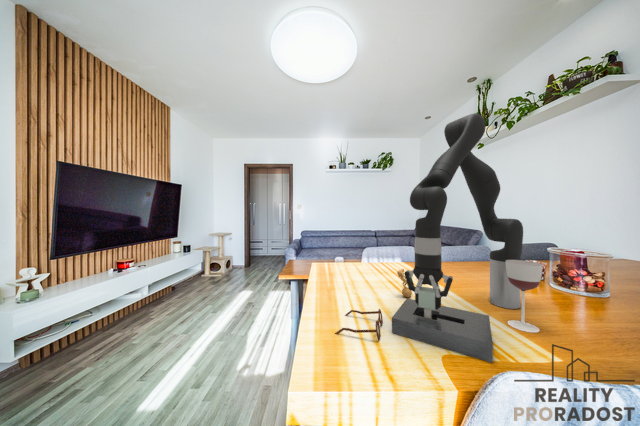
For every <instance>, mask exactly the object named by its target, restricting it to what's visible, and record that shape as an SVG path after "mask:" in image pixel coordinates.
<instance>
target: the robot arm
mask: <svg viewBox="0 0 640 426" xmlns="http://www.w3.org/2000/svg"><path fill="white" fill-rule="evenodd" d="M485 132H486V122H485V119H484V117H483V116H482V115H481V114H479V113H470V114H468V115H465V116H462V117H459V118H458V119H455V120H453V121H451V122H449V123H446V125H445V127H444V131H443V133H444V138H445V141H446V143H447V145H448V147H449V148H448V149H447V150H446V151H445V152H443V153H442V154H441V155H440V156H439V157H438V158H437V159H436V161H435V162H434V164H433V165H432V166H431V169H430V170H429V172H428V173H427V175H426V176H425V177H424V178H423V179H421V181H420V182H419V183H418V184H417V185H416V186H415V187H414V188H413V189H412V191H411V193H410V195H409V203H410V206H411V207H412V209H414V210H416V211H427V212H426V215H425V216H424V217H420V218H418V219H416V221H415V228H414V229H415V233H414V234H415V238H414V240H415V241H414V248H413V250H414V268H413V269H412V270H408V269H407V270H406V271H404V272H403V273H404V276H405V277H406V279H405V280H406V281H407V284H406V285H407V287H408V288H409V290H411V291H412V292H414V297H415V299H414V300H415V302H416V303H417V305H419V289H420V288H421V287H423V285H428V286H431V288H433V290H434V292H435V295H436V297H435V309H437V310H438V308H440V307H441V306H442V298H443V297H445V298H447V296H448V295H449V291H450V289H451V285H452V283H453V280H454V277H453V276H452V275H446V274H444V272H443V269H442V241H441V224H442V220H443V217H444V213H445V210H446V208H447V207H446V206H447V203H448V196H447V192H446V191H445V189H446V188H448V186H449V185H450V184H451V182H452V180H453V179H454V177H455V174H456V172H457V171H458V169H459V167H460V170H461V172H462V175H463V177H464V179H465V183H466V185H467V188H468V189H469V192H470V194H471V197H472V199H473V200H474V204H475V206H476V209H477V211H478V215H479V218H480V221H481V225H482V229H483V233H484V234H485V236H486V238H487V239H488V240H490V241H491V242H499V243H504V246H503V247H502V248H500V249H496V250H491V251H490V252H489V302H490V303H491V304H492V305H494V306H497V307H500V308H503V309H508V310H511V309H512V310H517V309H521V290H520V289H519V288H517V287H515V286H514V285H512V284H511V283H510V282H509V280H508V276H507V271H506V260H522V259H521V258H522V255H523V254H522V253H523V243H524V242H523V240H524V225H523V223H522V222H521V221H520V220H519V219H516V218H498V216H497V215H496V211H495V204H496V203H497V200H498V198H499V195H500V193H501V184H500V182H499V179H498V176H497V173H496V171H495V169H493V168H492V167H491V166H490V165H489V164H487V163H486V162H484V161H483V160H482V159H480V158H478V157H477V156H476V155H474V153H473V152H472V150H473V149H474V148H475V146H477V144H478V143H479V142H480V141H481V139H482V138H483V136H484V135H485ZM413 276H414V277H416V280H417V283H416V286H415V283H414V281H413ZM442 279H443V282H444V283H445V286H444V289H443V290H441V288H440V283H439V282H440V281H441V280H442Z"/></svg>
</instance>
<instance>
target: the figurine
mask: <svg viewBox="0 0 640 426" xmlns="http://www.w3.org/2000/svg"><path fill="white" fill-rule="evenodd" d="M396 273H397V276H398V278H400V279H401V281H402V286H403V288H402V289H401V294H402V296H403V297H405V298H410V297H411V296H412V295H413V291H411V290H409V288H408V286H406V285H408V284H407V281H406V277H405V274H404V273H405V269H404V268H402V269H399V270H397V272H396Z"/></svg>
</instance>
